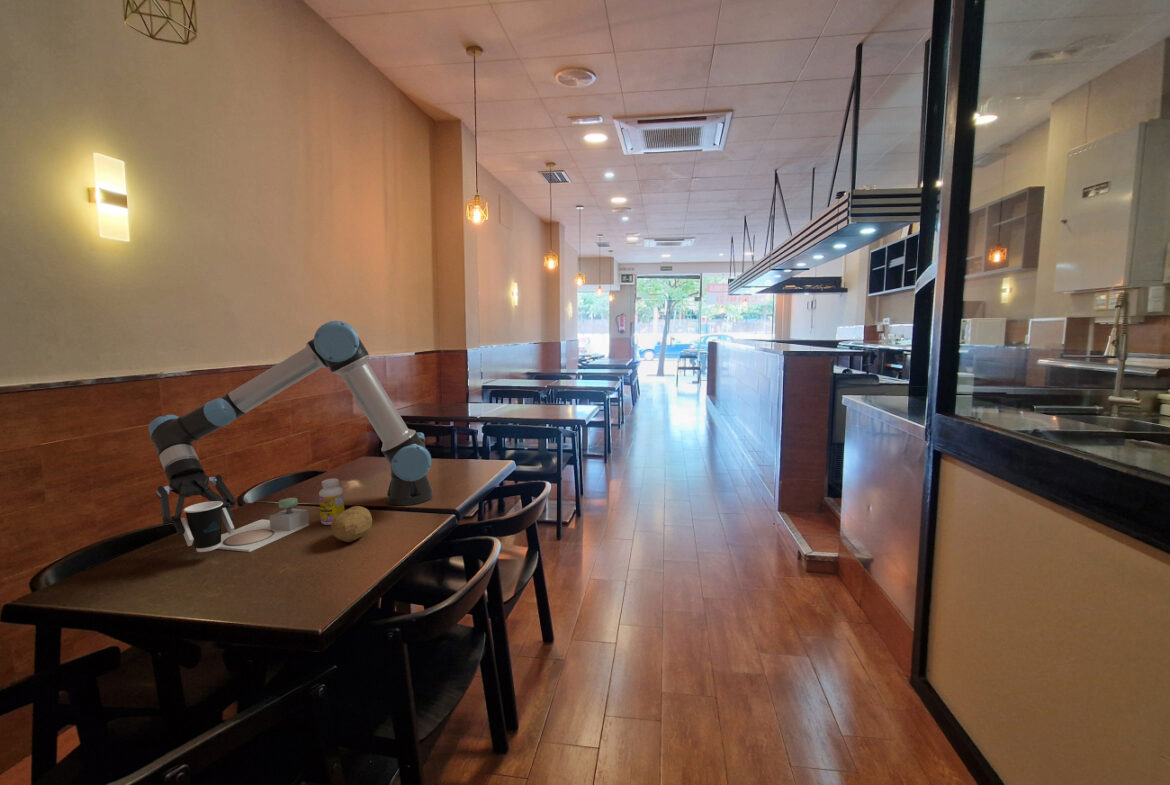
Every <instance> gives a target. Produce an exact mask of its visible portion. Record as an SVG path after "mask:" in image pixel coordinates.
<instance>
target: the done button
mask: <svg viewBox="0 0 1170 785" xmlns="http://www.w3.org/2000/svg"><path fill="white" fill-rule="evenodd" d="M295 506H298V497H287V498H283V499H280V500H278V508H280V509H285V510H286V514H291V513H292V509H293V508H294V507H295Z"/></svg>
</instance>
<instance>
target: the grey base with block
mask: <svg viewBox="0 0 1170 785" xmlns="http://www.w3.org/2000/svg"><path fill="white" fill-rule="evenodd" d="M308 526H309V527H310V517H309V509H305V508H304V509H302V508H292V513H291V514H286V509H284V510H281V511H278V512H276V513H274V514H271V515H269V519H262V518H261V519H259V520H256V521H253V522H250V523H249V524H245V525H244V526H240V527H238V528H236V529H235V528H234V531H233V533H232V534H230V535H229V533H228V531H226V533H221V542H220V547H218V548H216V549H217V550H227V551H237V552H246V553H250V552H253V551H256V550H257V549H259V548H260V549H261V548H262V547H264V546H267V545H269V544H270V543H273V542H276V541H277V540H280V539H282V538H284V537H286V536H288V535H291V534H293V533H295V532H297V531H301V530H302V529H304V528H307V527H308ZM216 549H215V550H216Z"/></svg>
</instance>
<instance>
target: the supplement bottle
mask: <svg viewBox="0 0 1170 785" xmlns="http://www.w3.org/2000/svg"><path fill="white" fill-rule="evenodd" d="M339 484H340V480H339V479H338V478H328V479H324V480H322V481H321V487H322V489H320V490H319V492H318V500H319V502H318V503H319V514H320V522H321V524H322V525H325V526H331V525H332V522H333V520H334V518H335V517H336V516H337V515H338V514H340V513H342V512H344V511H346V510H345V499H344V498H345V497H344V490H343V488H342V487H341V486H339Z"/></svg>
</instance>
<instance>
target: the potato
mask: <svg viewBox="0 0 1170 785" xmlns="http://www.w3.org/2000/svg"><path fill="white" fill-rule="evenodd" d="M372 524H373V518H372V513H371V512H370V510H369V509H368V508H366V507H364V506H360V505H355V506H351V507H349V508H348V509H346V510H345V511H344V512H342V513H340V514H338V515H337V516H336V517H335V518H334V520H333V522H332V525H330V526H331V532H332V534H333V537H335V538H336V539H338V540H339V541H342V542H346V543H352V542H353V541H356V540H358V539H360V538H361V537H363V536H364V535H365V534H366V533H367V532H368V531H369V530H370V529H371V527H372Z"/></svg>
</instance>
